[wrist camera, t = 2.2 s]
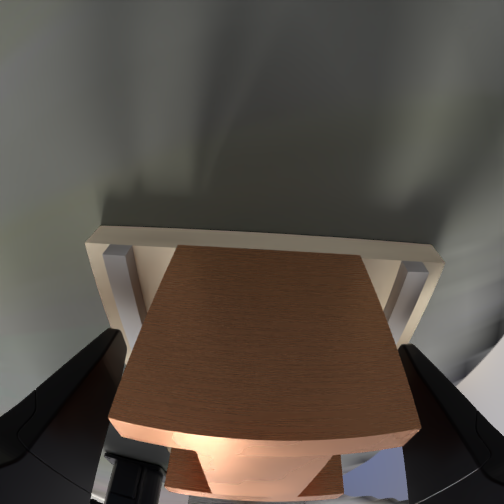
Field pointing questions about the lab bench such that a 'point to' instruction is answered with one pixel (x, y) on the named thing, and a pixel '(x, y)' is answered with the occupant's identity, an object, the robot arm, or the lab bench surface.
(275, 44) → the lab bench surface
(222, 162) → the lab bench surface
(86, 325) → the lab bench surface
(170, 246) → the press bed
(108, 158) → the lab bench surface
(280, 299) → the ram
